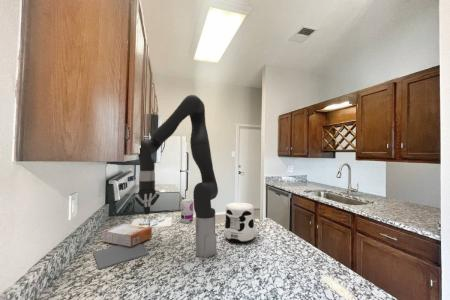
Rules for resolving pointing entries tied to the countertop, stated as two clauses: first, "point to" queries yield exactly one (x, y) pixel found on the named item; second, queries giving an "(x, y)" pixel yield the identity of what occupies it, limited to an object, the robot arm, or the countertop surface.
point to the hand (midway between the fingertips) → (146, 214)
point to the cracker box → (127, 234)
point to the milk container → (239, 222)
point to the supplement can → (187, 211)
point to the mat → (118, 255)
